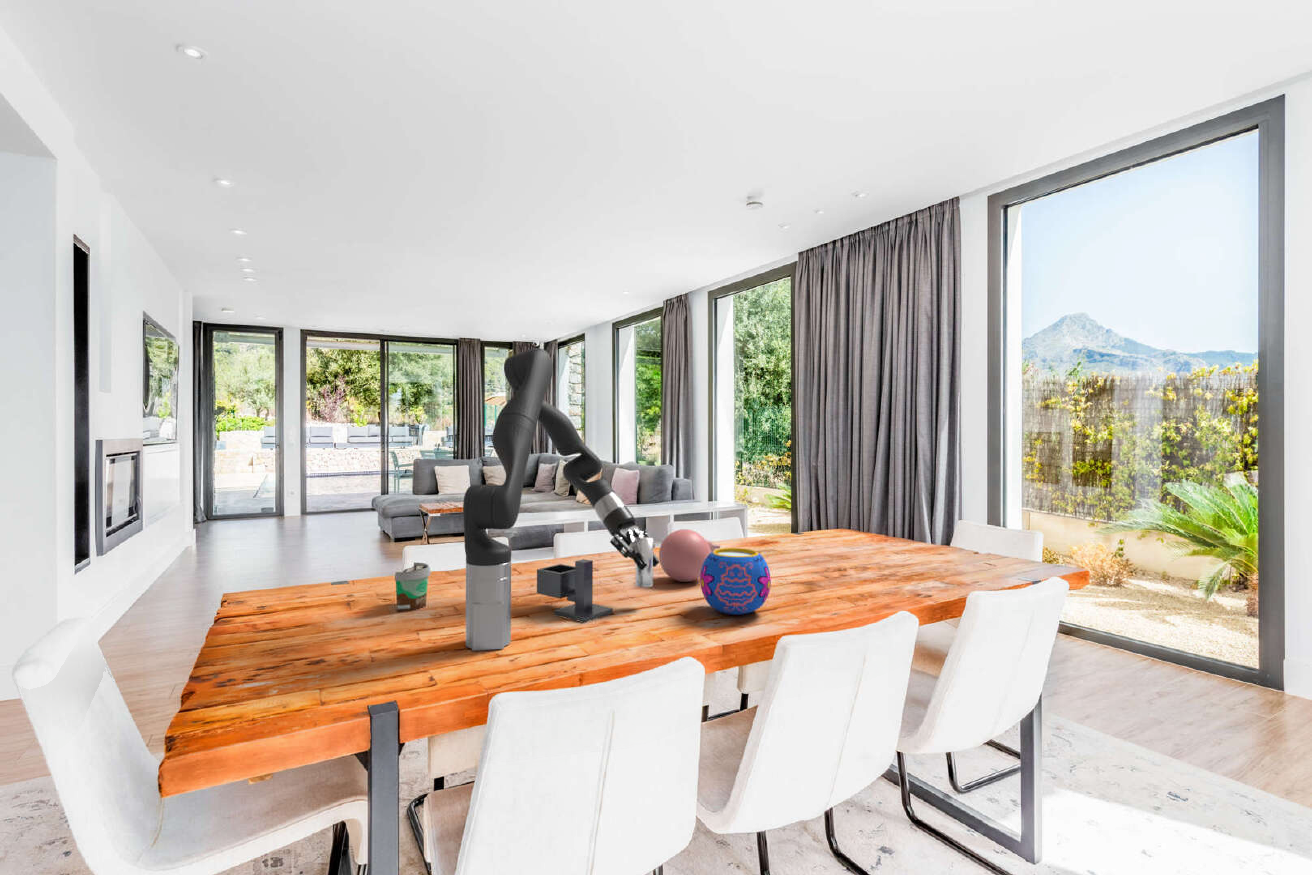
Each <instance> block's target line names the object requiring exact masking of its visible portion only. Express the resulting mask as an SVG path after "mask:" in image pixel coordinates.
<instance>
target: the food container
mask: <svg viewBox="0 0 1312 875" xmlns="http://www.w3.org/2000/svg"><path fill="white" fill-rule="evenodd" d="M430 568H431V567H430V566H429V564H427V563H423V562H413V566H412V567H410V568H406V569H404V570H403V571H395V575H394V581H395V590H396V591H395V592H396V612H397V613H403V612H404V613H406V612H412V611H413V610H414V611H417V609H418V610H421V609H420V608H422V609H424V608H425V607H426V606H427V595H428V585H429V584H428V581H429V577H430V576H431V574H432V573H431V569H430ZM423 607H424V608H423Z"/></svg>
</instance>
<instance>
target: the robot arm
mask: <svg viewBox="0 0 1312 875" xmlns="http://www.w3.org/2000/svg"><path fill="white" fill-rule="evenodd" d="M503 364H504V365H503V372H504V376H505V378H506V381H507V382H508V384H509V386H510V388H512V390H513V391H514V395H513V396H512V397H511V398H510V399H509V400H508V401H507V402H506V404H505V405H504V406H503V407H502V408H501V411H500V412H499V414H498V415H497V418H496V420H495V425H494V426H493V432H492V435H491V443H492V446H493V449H494V452H495V453H496V456H497V457H498V459H499V461H500V462H501V465H502V467H503V470H504V473H505V481H504V482H503V483H502V484H501V485H500V484H473V485H470V486H468V488H467V489H466V490H465V493H464V496H463V497H464V498H463V502H462V503H463V504H462V514H463V515H462V516H463V519H462V520H463V532H464V534H463V535H464V536H463V537H464V539H463V540H464V553H465V646H466V647H467V648H469V649H471V651H473V652H474V651H477V652H478V651H489V650H490V651H491V650H503V649H504V647H506V646H508V645H509V644H511V642H512V549H511V547H510V546H508V545H507V544H505V543H502V542H500V541H498V540H496V539H494V538H492V537H491V536H490V535H489V534H488V533H487V530H508V529H509V530H510V529H512V528H513V527H514V525H515V524H516V522H517V519H518V517H519V513H520V508H521V501H522V494H523V490H524V488H523V487H524V482H525V475H526V470H527V466H528V461H529V457H530V453H531V450H532V446H533V443H534V439H535V435H536V430H537V425H538V422H539V423H540V425H541V426H542V428H543V429H544V430H545V432H546V433H547V435H548V437H549V439H550V440H551V442H552V444H553V446H554V448H555V449H556V451H557V453H558V454H559V455H560V456H562V457H568V456H573V455H575V454H580V455H578V456H576V457H575V458H573V459H572V460H570V461H567V463H565V464H564V465H563V467H562V475H563V477H564V479H565V480H566V481H567V483H569V484H570V485H571V486H573V487H574V488H575V489H577V490H578V491H579V492H580V493H582V494H583V495H584V496H585V498H586V499H587V500H588V501H589V503H590V505H591V507H592V508H593V509H594V510H595V514H596V515H597V516H598V518H599V520H600V521H601V522H602V524H603V525H604V527H605V528H606V530H607V532H608V533H609V534H610V535H611V537H612V538H611V539H610V541H609V543H610V544H611V545H612V546H613V547H614V548H615V550H617V552H618V553H620V554H621V555H622V556H623V557H624V558H625V559H628V558H630V559H631V560H633V561H634V563H635V565H636V564H637V566H638V567H639V568H640V569H641V570H643V569H645V568H646V567H647V563H646V561H645V560H644V558H643V557H642V556H641V554H640V553H639V552H638V549H637V547H636V538H637V537H652V536H651V533H650V532H649V530H648V529H644V530H643V531H642V530H640V529H639V528H638V527H637V526H636V518H635V517H634V515H633V514H632V512H631V511H630V509H629V508H628V507H627V505H626V504H625V503H624V501H623V500H622V499H621V497H620V496H619V495H618V494H617V493H616V491H615V490H614V489H613V488H612V486H611V484H609V482H608V480H607V479H604V478H599V479H595V480H591V481H589V480H590V479H592V478H594V477H596V476H597V475H599V474H600V473H601V471H602V469H603V468H602V467H603V466H602V461H601V460H600V458H599V456H598V455H596V453H594V452H593V450H591V449H590V448H589V447H588V446H587V444H585V443H584V441H583V439H582V438H581V437H580V435H579V433H578V432H577V429H576V428H575V426H574V424H573V423H572V421H571V420H570V418H569V417H568V416H567V415H566V414H565V413H563V412H562V411H561V410H560V409H559V408H558V409H557V407H555V406H553V405H552V404H551V403H549V402H548V401H547V400H545V397H546V395H547V392H548V389H549V388H550V387H549V386H550V384H551V381H552V378H553V371H554V366H553V361H552V357H551V356H550V354H549V352H548V351H546V350H545V349H544V348H539V347H537V348H531V349H527V350H524V351H522V352H519V353H517V354H514V355H511V356H509V357H507V358H506V359H505V361H504V363H503ZM655 548H656V544H655V542H654V541H653V549H655ZM659 563H660V561H659V557H657V555H656V554H655V553H654V552H653V568H655V567H657V566H658V564H659Z"/></svg>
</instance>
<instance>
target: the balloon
mask: <svg viewBox="0 0 1312 875" xmlns="http://www.w3.org/2000/svg"><path fill="white" fill-rule="evenodd" d="M659 547H660V548H659V551H658V560H659V563H660V566H661V569H662V571H663V572H664V574H666V575H667V576H668V577H669V578H671V579H672V580H674V581H677V582H680V583H681V582H683V583H689V582H693V581H696V580H698V579H700V574H701V569H702V565H703V563H704V561H705V559H706V558H707V556H708V555H709V554H710V553H711V552H713V551H714V550H717V549H721V545H720V544H718V543H717V544H716V543H713V541H711V540H707V539H705V537H703V536H702V535H701V534H700V533H699V532H697V531H694V530H692V529H677V530H675V531H673V532H671V533H669V534H668V535H667V536H666V537H665V538H664V540H663V541H662V543H661V545H660V546H659Z"/></svg>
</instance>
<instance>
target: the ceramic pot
mask: <svg viewBox="0 0 1312 875" xmlns="http://www.w3.org/2000/svg"><path fill="white" fill-rule="evenodd" d="M699 584H700V585H699V586H700V589H701V593H702V595H703V597H704V599H705V600H706V603H707V605H709V606H711V607H712V608H713V609H715V610H716V611H719V612H721V613H724V614H727V615H731V616H732V615H734V616H739V615H745V614H746V615H747V614H749V613H752V612H755V611H757V610H758V609H760V608H761V607H763V605H764V604H765V602H766V601H767V598H768V597H769V595H770V592H771V588H772V587H771V584H772V579H771V573H770V569H769V565H768V563H767V562H766V559H765V558H764V557H763V556H762V555H761V554H760V553H759V552H758V551H756V550H753V549H748V548H742V547H740V548H739V547H724V548H719V549H715V550H714V551H713V552H711V553H710V554H709V555H708V556H707V558H706V559H705V561H704V563H703V565H702V569H701V574H700V577H699Z"/></svg>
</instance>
